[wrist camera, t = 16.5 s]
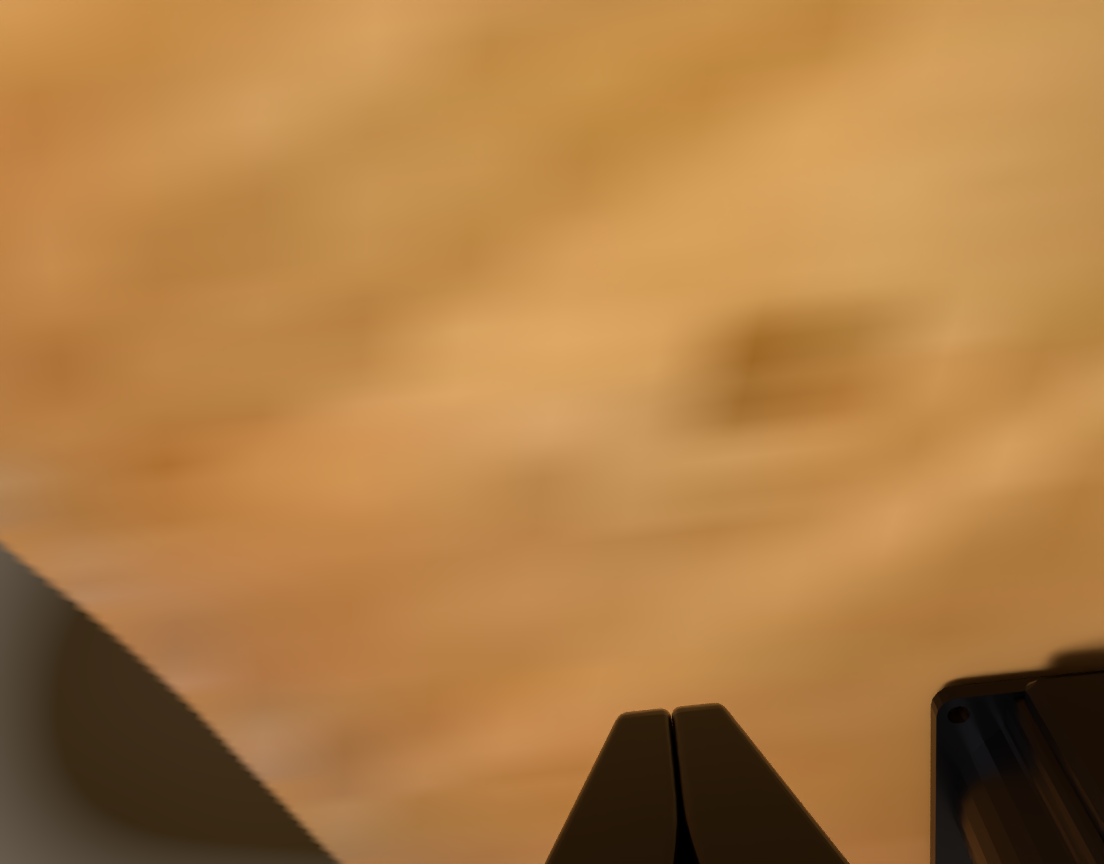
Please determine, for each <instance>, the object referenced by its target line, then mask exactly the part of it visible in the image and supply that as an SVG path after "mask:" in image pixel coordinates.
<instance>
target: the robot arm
mask: <svg viewBox="0 0 1104 864" xmlns="http://www.w3.org/2000/svg"><path fill="white" fill-rule="evenodd" d="M958 706H962V708H960V709H959V710H957V711H953V712H951V711H950V710H951V709H952V708H954V707H958ZM672 725H673V726H672ZM545 864H849V862H848V861H847V860H846V859H845V857H844V856H843V855H842V854H841V852H840V851H839V850H838V849H837V847H836V846H835V845H834V844H833V842H832V841H831V840H830V838H829V837H828V836H827V835H826V833H825V832H824V831H823V830H822V828H821V827H820V826H819V825H818V823H817V822H816V821H815V820H814V818H813V817H812V816H811V815H810V813H809V812H808V811H807V810H806V808H805V807H804V806H803V804H802V803H801V802H800V801H799V799H798V798H797V797H796V796H795V794H794V793H793V792H792V791H791V789H790V788H789V787H788V786H787V784H786V783H785V782H784V781H783V779H782V778H781V777H780V776H779V774H778V773H777V772H776V770H775V769H774V768H773V767H772V765H771V764H770V763H769V762H768V760H767V759H766V758H765V757H764V755H763V754H762V753H761V752H760V750H759V749H758V748H757V747H756V745H755V744H754V743H753V741H752V740H751V739H750V738H749V736H748V735H747V734H746V733H745V731H744V730H743V729H742V728H741V726H740V725H739V724H738V723H737V721H736V720H735V719H734V718H733V716H732V715H731V714H730V713H729V711H728V710H727V709H726V708H725V707H724V706H723V705H721V704H718V703H709V704H700V705H690V706H680V707H677V708H676V709H674V711H673V713H672V719H671V715H670V713H669V712H668V711H667V710H665V709H652V710H642V711H633V712H625V713H623V714H621V715H620V716H619V717H618V718H617V720H616V721H615V723H614V725H613V727H612V729H611V731H610V733H609V735H608V737H607V739H606V741H605V743H604V745H603V747H602V749H601V751H600V753H599V755H598V757H597V759H596V761H595V763H594V765H593V767H592V769H591V771H590V774H589V776H588V778H587V780H586V782H585V784H584V786H583V788H582V790H581V792H580V794H579V796H578V798H577V800H576V802H575V804H574V806H573V808H572V810H571V812H570V814H569V816H568V818H567V820H566V822H565V824H564V826H563V828H562V830H561V832H560V834H559V836H558V838H557V840H556V842H555V844H554V846H553V848H552V850H551V852H550V854H549V856H548V858H547V860H546V862H545ZM930 864H1104V671H1094V672H1085V673H1075V674H1066V675H1056V676H1046V677H1037V678H1027V679H1017V680H1008V681H998V682H989V683H979V684H969V685H960V686H952V687H948V688H944V689H943V690H941V691H940V692H938V693H937V694H936V695H935V696H934V698H933V699H932V703H931V821H930Z"/></svg>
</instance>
